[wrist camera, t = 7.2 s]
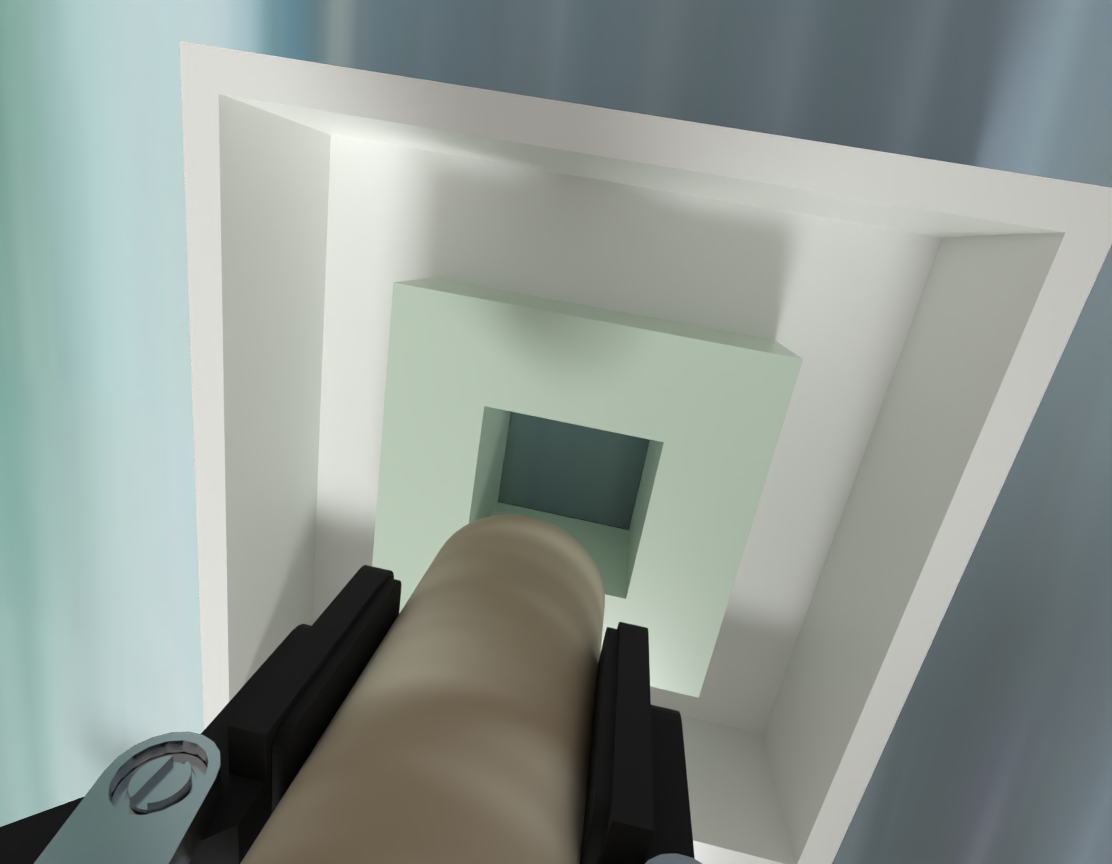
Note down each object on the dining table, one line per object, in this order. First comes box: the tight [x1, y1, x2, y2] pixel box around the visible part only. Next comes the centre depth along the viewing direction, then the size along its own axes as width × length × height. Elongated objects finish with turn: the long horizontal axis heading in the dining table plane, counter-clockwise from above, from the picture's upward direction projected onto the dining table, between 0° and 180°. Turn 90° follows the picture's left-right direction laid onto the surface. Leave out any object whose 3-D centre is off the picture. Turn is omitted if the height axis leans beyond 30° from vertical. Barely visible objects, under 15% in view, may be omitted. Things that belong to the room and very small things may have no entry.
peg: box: [240, 515, 605, 864], centre depth 8 cm, size 4×4×10 cm
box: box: [180, 41, 1112, 864], centre depth 20 cm, size 22×22×7 cm
